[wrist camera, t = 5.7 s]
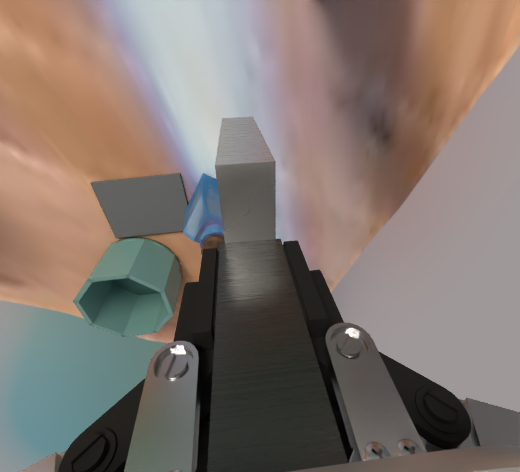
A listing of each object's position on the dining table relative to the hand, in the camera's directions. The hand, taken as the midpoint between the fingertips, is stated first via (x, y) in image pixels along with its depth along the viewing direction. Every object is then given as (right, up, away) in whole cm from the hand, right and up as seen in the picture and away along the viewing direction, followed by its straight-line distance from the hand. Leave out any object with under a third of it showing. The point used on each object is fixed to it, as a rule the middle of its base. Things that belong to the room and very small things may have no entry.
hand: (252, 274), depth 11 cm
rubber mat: (-16, +6, +27) cm, 32 cm away
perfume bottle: (-6, +7, +28) cm, 29 cm away
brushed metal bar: (-1, +6, +9) cm, 10 cm away
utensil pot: (-20, -4, +33) cm, 39 cm away
